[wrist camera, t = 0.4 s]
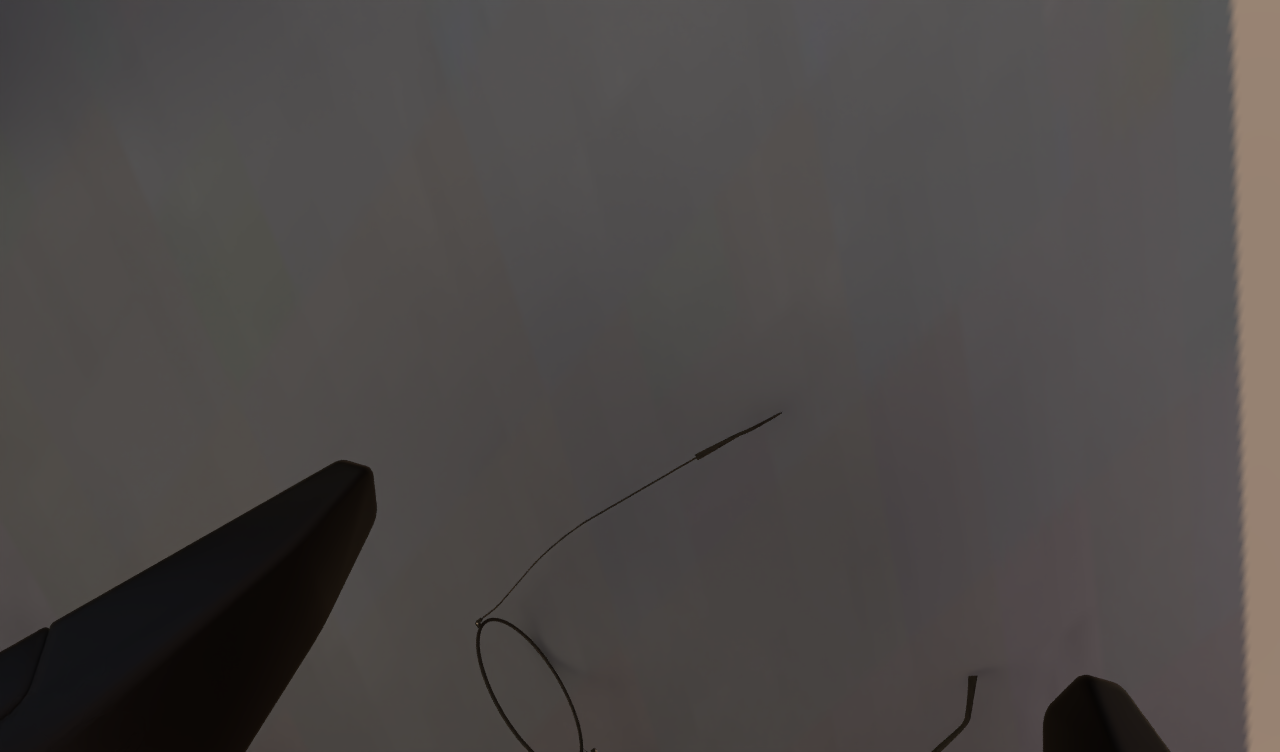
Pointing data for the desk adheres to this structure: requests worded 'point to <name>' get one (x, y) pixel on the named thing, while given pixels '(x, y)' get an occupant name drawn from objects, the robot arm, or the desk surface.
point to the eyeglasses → (700, 455)
